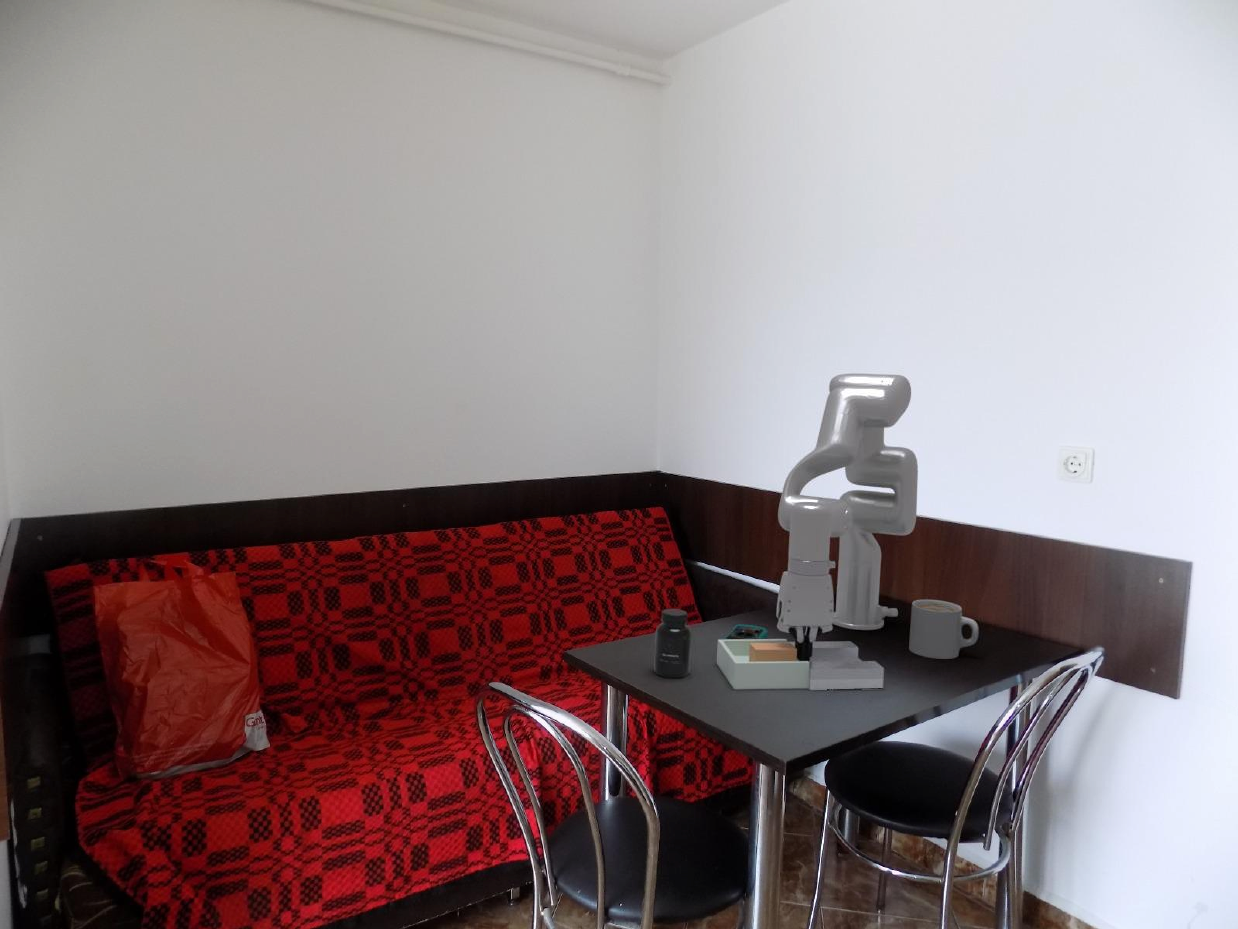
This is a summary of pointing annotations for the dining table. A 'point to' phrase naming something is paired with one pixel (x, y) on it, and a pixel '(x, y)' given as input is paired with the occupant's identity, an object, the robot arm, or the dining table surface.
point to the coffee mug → (939, 629)
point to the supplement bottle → (672, 645)
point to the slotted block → (841, 667)
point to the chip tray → (759, 667)
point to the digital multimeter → (747, 632)
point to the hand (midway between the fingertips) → (802, 660)
